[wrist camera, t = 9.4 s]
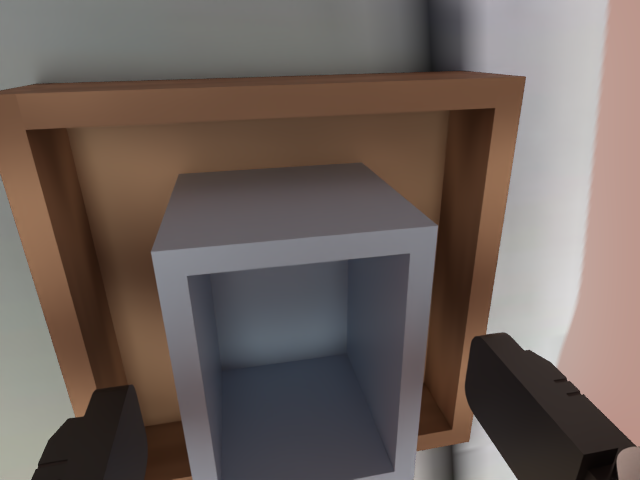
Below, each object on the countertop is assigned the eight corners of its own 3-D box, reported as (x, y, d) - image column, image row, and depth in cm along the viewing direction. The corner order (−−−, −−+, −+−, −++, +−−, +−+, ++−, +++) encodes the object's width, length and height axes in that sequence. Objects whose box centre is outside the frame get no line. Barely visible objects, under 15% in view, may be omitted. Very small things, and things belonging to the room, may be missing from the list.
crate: (35, 84, 13) (-24, 95, 10) (464, 70, 15) (525, 76, 12) (124, 430, 19) (103, 508, 15) (432, 382, 21) (468, 441, 18)
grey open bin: (178, 173, 14) (151, 251, 9) (361, 162, 15) (438, 225, 10) (207, 375, 17) (200, 524, 12) (357, 354, 18) (413, 482, 13)
